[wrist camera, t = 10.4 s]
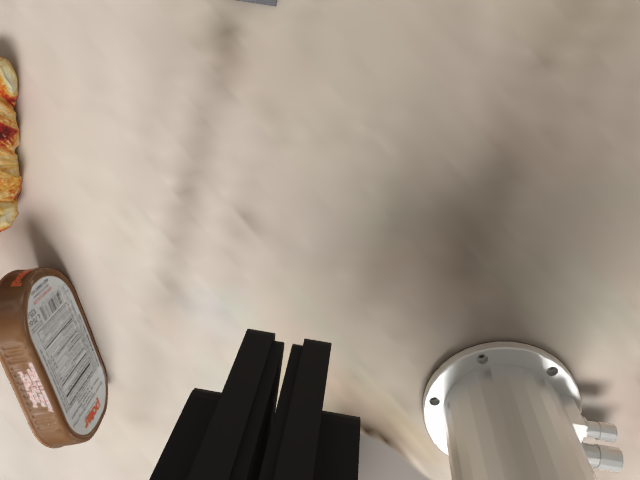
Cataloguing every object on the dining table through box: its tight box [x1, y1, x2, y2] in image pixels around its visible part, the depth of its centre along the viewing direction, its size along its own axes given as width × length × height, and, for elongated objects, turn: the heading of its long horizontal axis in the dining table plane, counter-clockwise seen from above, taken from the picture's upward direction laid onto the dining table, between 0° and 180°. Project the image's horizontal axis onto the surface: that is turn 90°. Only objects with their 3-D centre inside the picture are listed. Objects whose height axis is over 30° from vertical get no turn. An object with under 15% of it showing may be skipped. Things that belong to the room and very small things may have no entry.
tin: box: [0, 268, 108, 448], centre depth 46 cm, size 15×3×8 cm, turn 11°
